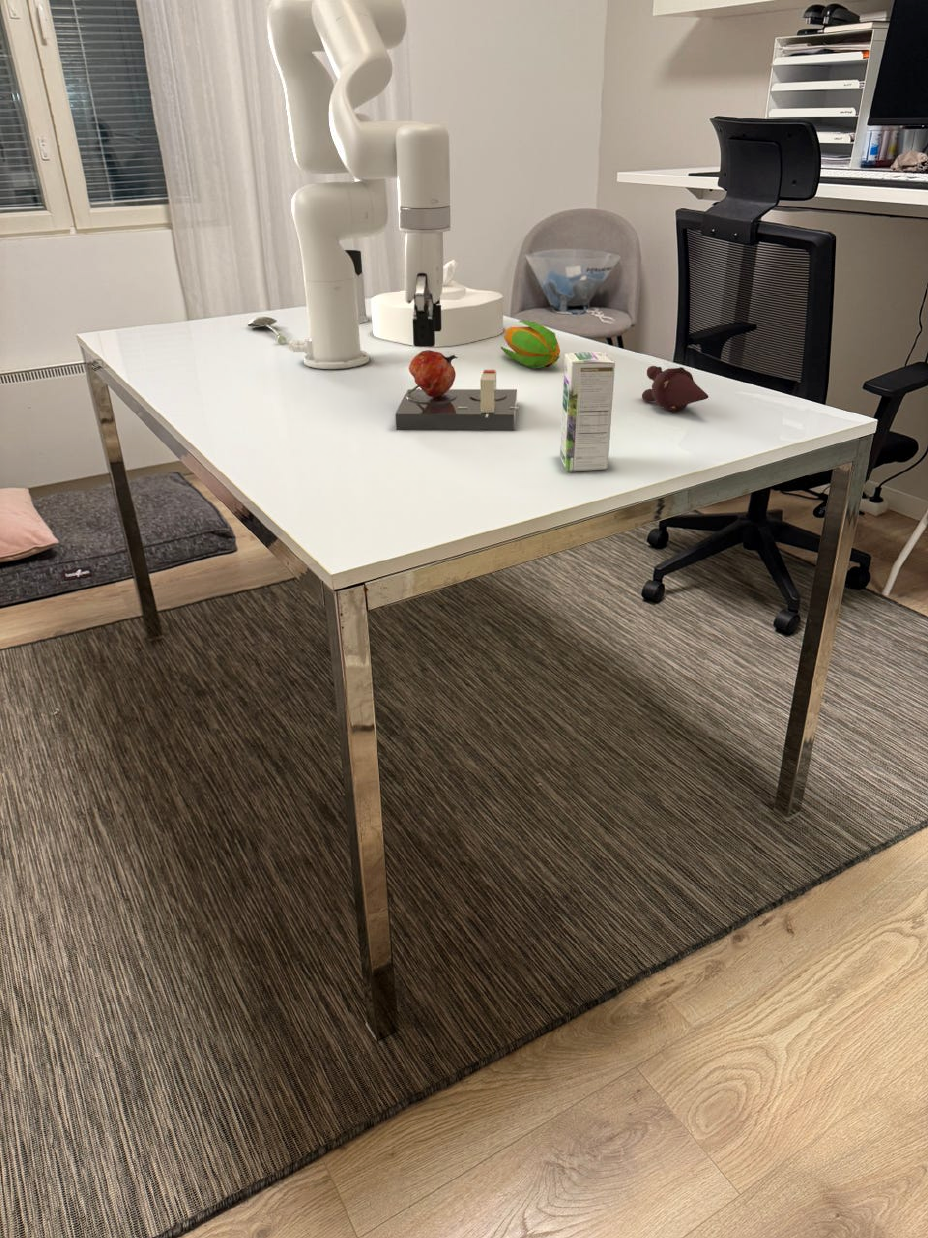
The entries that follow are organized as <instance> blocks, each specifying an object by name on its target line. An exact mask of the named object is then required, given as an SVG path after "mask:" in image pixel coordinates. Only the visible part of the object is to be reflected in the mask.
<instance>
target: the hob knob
mask: <svg viewBox="0 0 928 1238" xmlns="http://www.w3.org/2000/svg"><path fill="white" fill-rule="evenodd" d="M479 387H480V389H481V413H494V411H495V407H496V389H497V370H496V369H483V371H482V374H481V377H480V386H479Z"/></svg>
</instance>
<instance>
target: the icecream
mask: <svg viewBox="0 0 928 1238" xmlns="http://www.w3.org/2000/svg"><path fill="white" fill-rule="evenodd" d="M646 377H647V378H648V379H649V380H652V381H653V382H652V384H651V388H647V389H645V390H644V391H643V392H642V394H641V399H642V400H643V402H646V403H654V402H656V403H657V405H658V406H659V407H660V408H662V409H664V410H667V411H669V412H671V413H676V412H681V411H684V410H685V409H686V408H687V407H688V405H691V404H693V403H697V402H700V401H705V400H707V399H709V395H708V394H707V393H706V392H705V391H704V390H703V389H702V388H701V387H700V386H699V385H698V384H697V383H696V382H695V380H694V377H693V374H692V373H691V372H690V371H689V370H687V369H685V368H684V367H683V366H682V367H681V366H680V367H673V368H666V369H665V370H663V368H662V366H657V365H651V366H648V368H647V369H646Z"/></svg>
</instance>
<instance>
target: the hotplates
mask: <svg viewBox="0 0 928 1238" xmlns="http://www.w3.org/2000/svg"><path fill="white" fill-rule="evenodd" d="M456 397H457V394H456V393H455V392H453V391H450V390H448V391H447V392H446V393H444V394H443V395H441V396H439V397H430V396H428V395H426V393H425V392H424V391H423V390H418V391H414V392H411V393H410V394H408V395H407V399H408V400H410V401H412V402H416V403H425V404H434V403H443V402H448V401H451V400H453V399H455V398H456ZM469 397H470V398H471V399H474V400H479V401H481V390H479V391H475V392H472V393H470V395H469ZM506 397H507V394H506V393H505V392H503V391H499V390H496V400H501V399H504V398H506Z"/></svg>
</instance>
